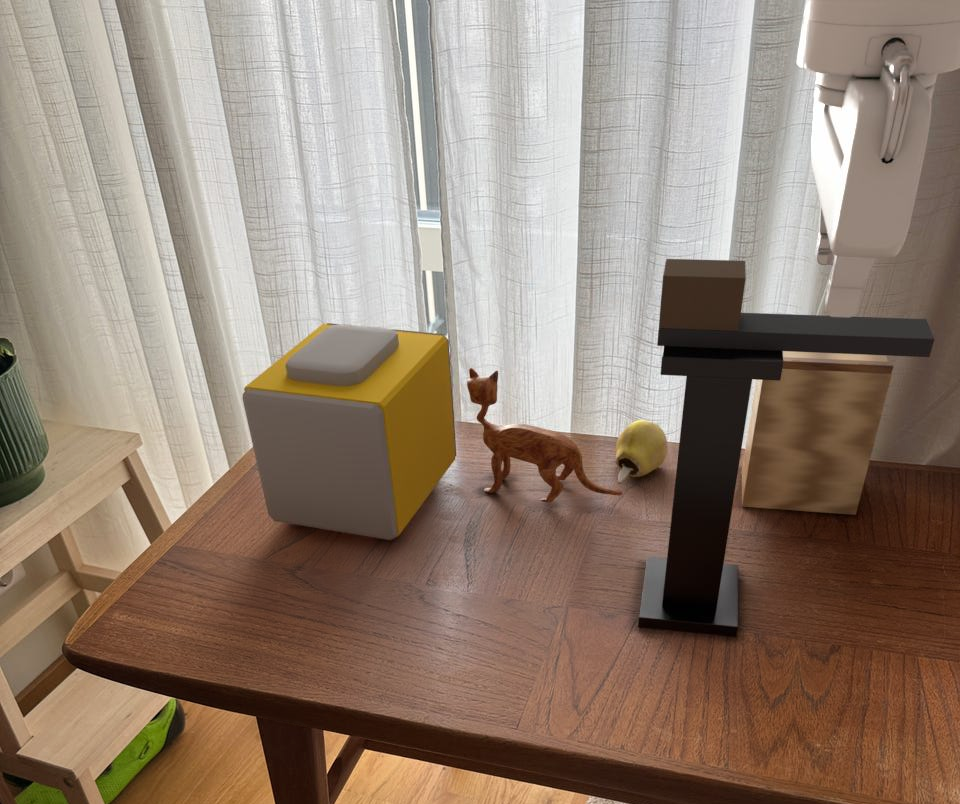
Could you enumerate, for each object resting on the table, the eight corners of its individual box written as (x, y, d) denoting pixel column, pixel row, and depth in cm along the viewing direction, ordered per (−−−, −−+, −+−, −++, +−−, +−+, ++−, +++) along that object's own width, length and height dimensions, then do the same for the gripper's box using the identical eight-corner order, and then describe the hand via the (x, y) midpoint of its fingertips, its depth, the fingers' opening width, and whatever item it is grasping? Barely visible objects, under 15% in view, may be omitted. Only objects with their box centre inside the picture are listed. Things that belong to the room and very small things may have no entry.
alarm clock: (342, 453, 115) (320, 306, 103) (460, 469, 111) (451, 318, 99) (264, 536, 101) (228, 377, 89) (396, 559, 97) (376, 395, 85)
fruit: (594, 486, 106) (621, 437, 112) (641, 507, 106) (666, 456, 111) (607, 449, 102) (636, 400, 108) (657, 471, 101) (683, 420, 107)
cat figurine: (628, 488, 105) (636, 375, 97) (615, 518, 101) (622, 402, 92) (481, 468, 111) (476, 358, 102) (462, 495, 106) (455, 383, 97)
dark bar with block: (921, 336, 71) (941, 265, 68) (929, 357, 68) (950, 283, 65) (660, 326, 75) (666, 258, 71) (657, 346, 72) (662, 275, 68)
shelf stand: (736, 574, 92) (779, 317, 75) (736, 637, 84) (784, 367, 68) (646, 566, 94) (668, 313, 77) (638, 627, 86) (661, 361, 70)
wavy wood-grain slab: (849, 478, 105) (884, 334, 94) (855, 515, 99) (894, 366, 88) (741, 470, 107) (763, 330, 97) (741, 506, 102) (765, 360, 91)
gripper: (986, 57, 41) (908, 353, 50) (920, 4, 57) (869, 238, 65) (840, 59, 43) (788, 348, 51) (813, 7, 58) (777, 237, 67)
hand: (833, 286), depth 59 cm, fingers open, 8 cm apart
